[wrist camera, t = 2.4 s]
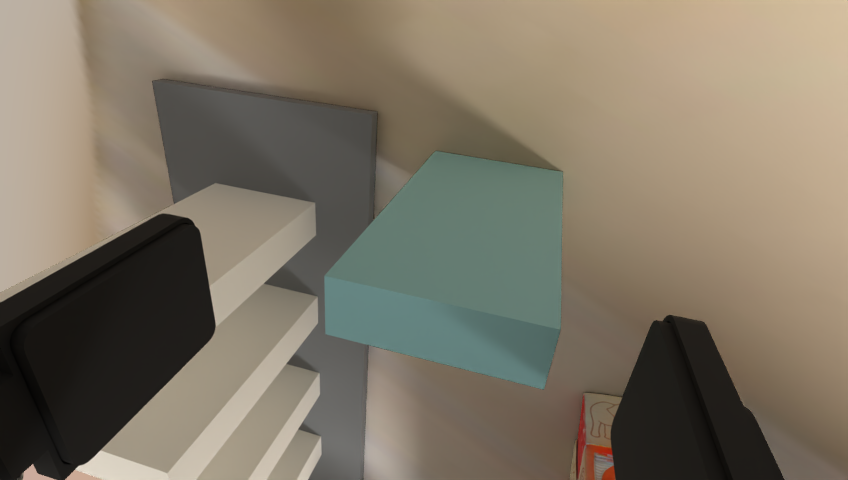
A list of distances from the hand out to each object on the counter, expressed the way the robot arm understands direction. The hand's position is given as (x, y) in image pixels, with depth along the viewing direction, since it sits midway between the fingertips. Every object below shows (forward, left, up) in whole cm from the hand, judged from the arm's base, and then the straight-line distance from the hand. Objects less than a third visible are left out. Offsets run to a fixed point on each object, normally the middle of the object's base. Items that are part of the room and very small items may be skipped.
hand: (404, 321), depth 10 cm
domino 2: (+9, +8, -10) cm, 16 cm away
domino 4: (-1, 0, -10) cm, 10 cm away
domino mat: (+9, +13, -10) cm, 19 cm away
